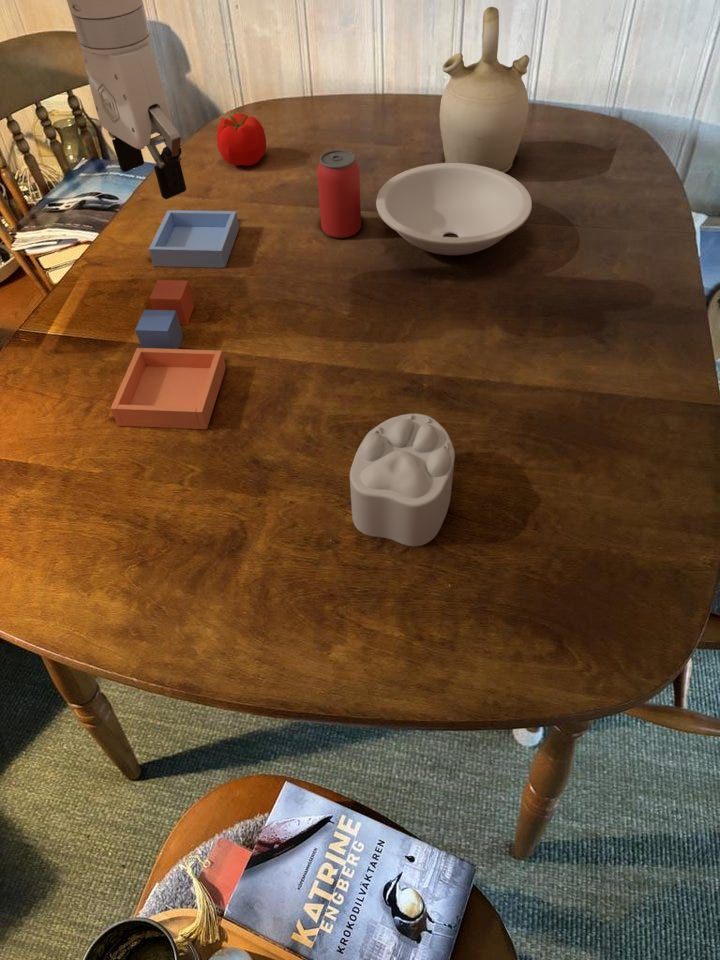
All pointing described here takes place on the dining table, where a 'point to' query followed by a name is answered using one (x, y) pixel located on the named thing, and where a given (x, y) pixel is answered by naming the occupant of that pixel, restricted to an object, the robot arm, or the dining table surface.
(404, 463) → the lumpy-topped squat cylinder
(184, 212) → the blue tray
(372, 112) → the dining table surface
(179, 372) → the terracotta tray
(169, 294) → the terracotta block
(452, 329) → the dining table surface
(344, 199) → the beer can
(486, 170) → the vessel sink basin
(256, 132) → the tomato
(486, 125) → the jug
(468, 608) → the dining table surface
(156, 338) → the blue block
